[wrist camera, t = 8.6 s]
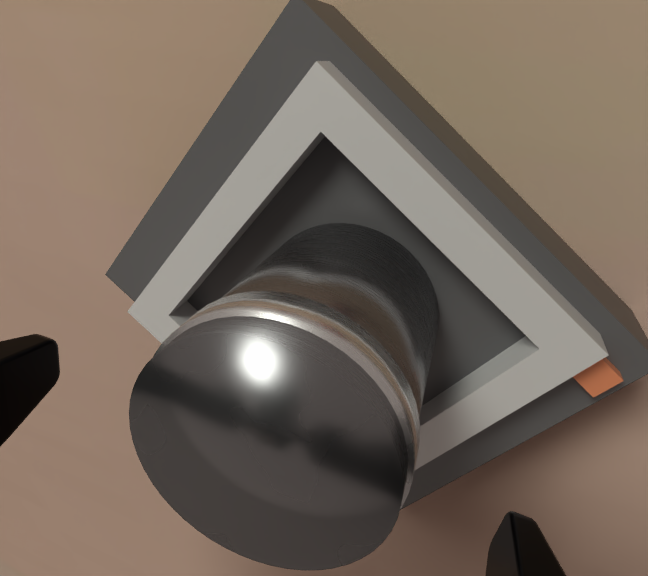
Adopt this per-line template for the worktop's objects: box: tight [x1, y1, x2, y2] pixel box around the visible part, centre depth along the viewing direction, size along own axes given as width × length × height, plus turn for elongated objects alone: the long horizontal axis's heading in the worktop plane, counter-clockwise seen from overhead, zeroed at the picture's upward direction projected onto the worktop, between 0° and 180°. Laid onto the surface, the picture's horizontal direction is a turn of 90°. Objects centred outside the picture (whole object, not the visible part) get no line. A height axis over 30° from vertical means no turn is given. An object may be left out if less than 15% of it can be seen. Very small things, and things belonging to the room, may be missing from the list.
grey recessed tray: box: [105, 0, 648, 510], centre depth 15 cm, size 12×10×4 cm
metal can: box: [129, 223, 439, 570], centre depth 11 cm, size 5×5×6 cm
